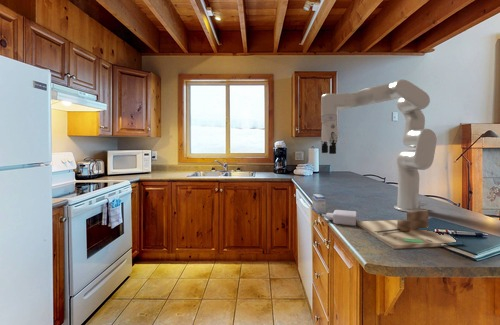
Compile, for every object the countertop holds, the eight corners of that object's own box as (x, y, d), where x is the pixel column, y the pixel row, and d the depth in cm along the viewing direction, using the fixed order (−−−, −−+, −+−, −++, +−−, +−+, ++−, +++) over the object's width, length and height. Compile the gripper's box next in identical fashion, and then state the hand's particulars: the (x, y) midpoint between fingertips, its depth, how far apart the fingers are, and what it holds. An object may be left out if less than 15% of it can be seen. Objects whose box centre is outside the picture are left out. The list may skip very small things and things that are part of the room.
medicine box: (312, 209, 138) (312, 194, 137) (320, 209, 138) (320, 193, 138) (317, 214, 130) (317, 197, 130) (325, 213, 131) (325, 197, 130)
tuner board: (411, 222, 115) (411, 218, 115) (463, 245, 90) (463, 241, 89) (355, 224, 113) (355, 221, 113) (393, 248, 87) (393, 244, 87)
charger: (323, 217, 125) (356, 220, 119) (320, 222, 117) (355, 226, 111) (323, 207, 125) (356, 210, 119) (320, 212, 116) (356, 216, 110)
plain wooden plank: (421, 225, 106) (422, 208, 106) (431, 228, 102) (432, 211, 101) (373, 231, 100) (373, 213, 100) (381, 235, 96) (381, 216, 95)
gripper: (344, 117, 120) (343, 153, 121) (329, 120, 137) (328, 152, 138) (328, 117, 119) (328, 154, 120) (315, 120, 136) (315, 152, 138)
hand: (328, 153), depth 129 cm, fingers open, 9 cm apart
